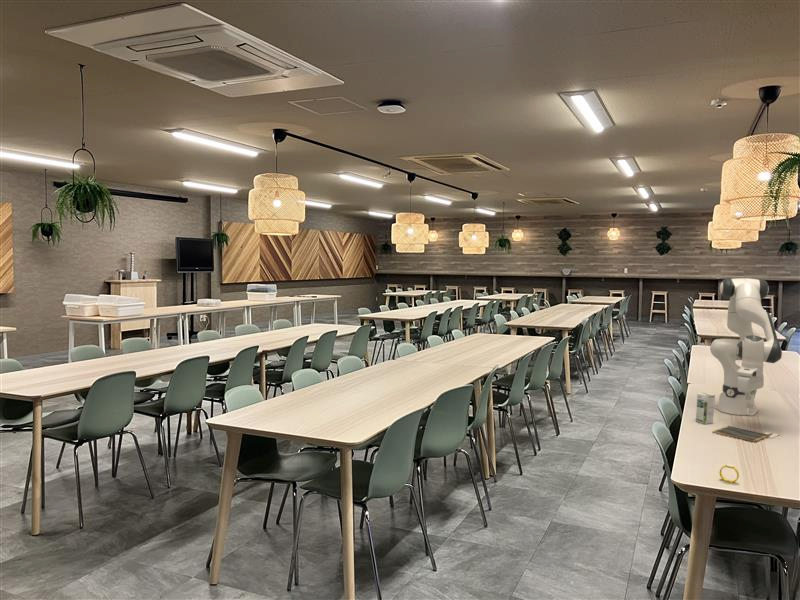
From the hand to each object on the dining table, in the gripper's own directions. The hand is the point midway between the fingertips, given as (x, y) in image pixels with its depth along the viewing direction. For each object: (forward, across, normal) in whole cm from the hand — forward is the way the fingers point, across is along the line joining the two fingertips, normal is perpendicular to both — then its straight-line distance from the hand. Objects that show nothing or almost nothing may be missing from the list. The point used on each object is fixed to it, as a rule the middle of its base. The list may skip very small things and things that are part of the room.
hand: (750, 399), depth 276 cm
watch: (+13, +79, +24) cm, 83 cm away
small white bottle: (+4, 0, 0) cm, 4 cm away
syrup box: (+15, +4, -19) cm, 24 cm away
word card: (+15, +1, +9) cm, 18 cm away
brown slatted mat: (+15, +11, +1) cm, 19 cm away
